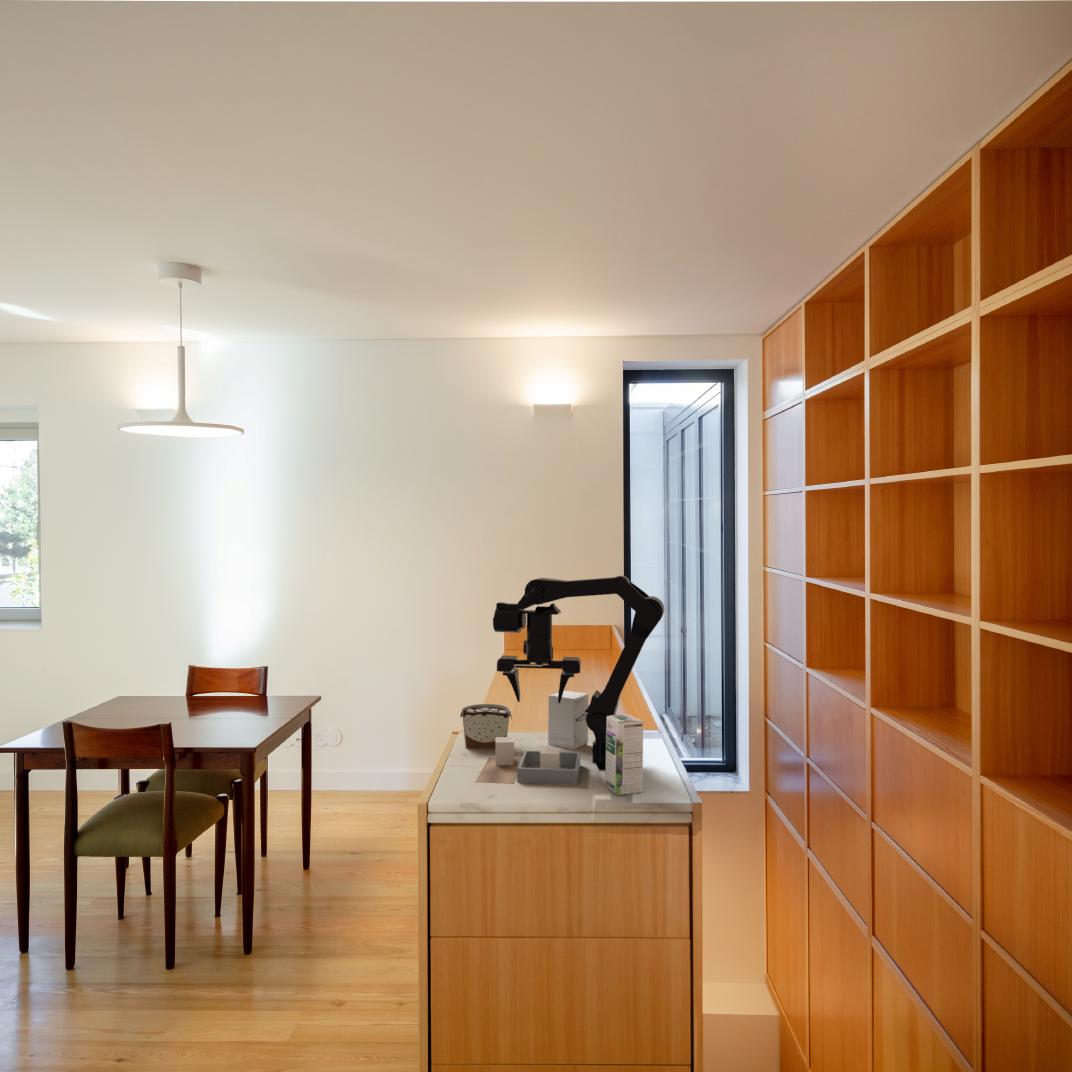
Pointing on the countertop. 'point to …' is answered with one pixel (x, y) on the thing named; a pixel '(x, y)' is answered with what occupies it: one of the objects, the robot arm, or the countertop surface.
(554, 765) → the stone
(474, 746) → the food container
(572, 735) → the supplement box
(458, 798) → the countertop surface
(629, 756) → the syrup box
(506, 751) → the cream white block
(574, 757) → the bin
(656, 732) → the countertop surface
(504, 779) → the brown rectangular board
